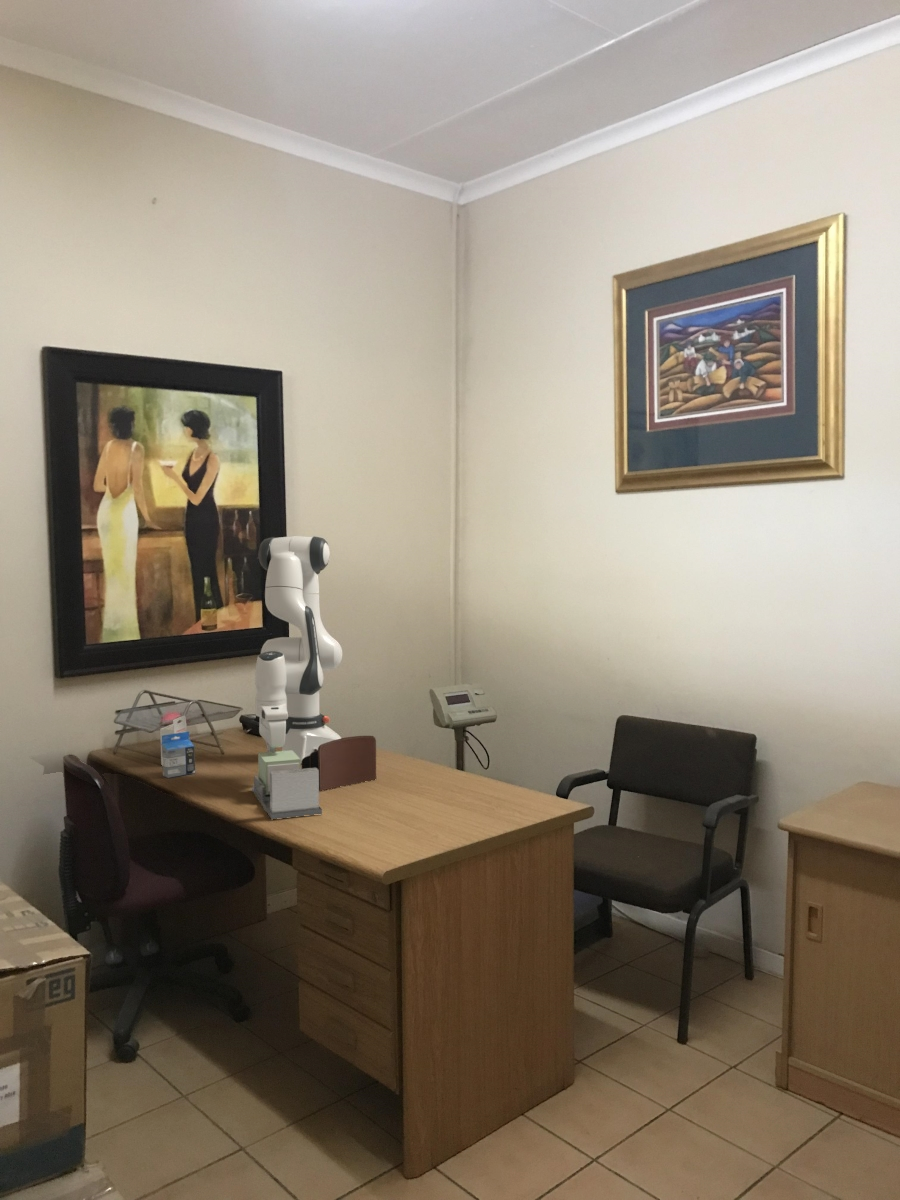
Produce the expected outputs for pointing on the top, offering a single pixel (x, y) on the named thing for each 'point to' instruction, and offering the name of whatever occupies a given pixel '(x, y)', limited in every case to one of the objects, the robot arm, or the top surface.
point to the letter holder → (344, 761)
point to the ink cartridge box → (174, 729)
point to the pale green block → (276, 764)
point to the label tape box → (177, 755)
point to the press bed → (290, 793)
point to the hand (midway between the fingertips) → (271, 756)
